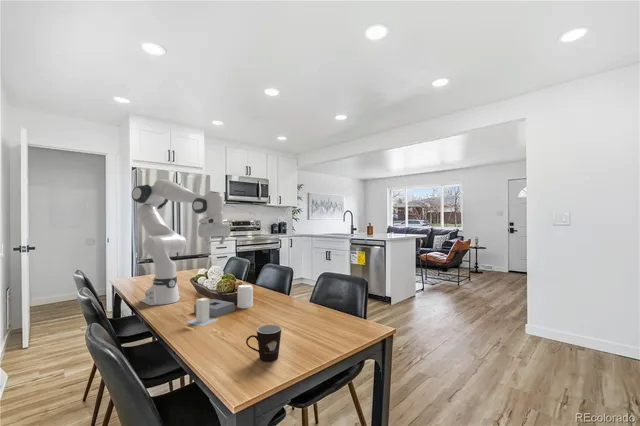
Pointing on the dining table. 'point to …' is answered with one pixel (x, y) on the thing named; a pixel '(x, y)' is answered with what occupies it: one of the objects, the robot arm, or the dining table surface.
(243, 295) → the beverage can
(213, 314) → the block
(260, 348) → the coffee mug
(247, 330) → the dining table surface
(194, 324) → the mat
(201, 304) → the plug
